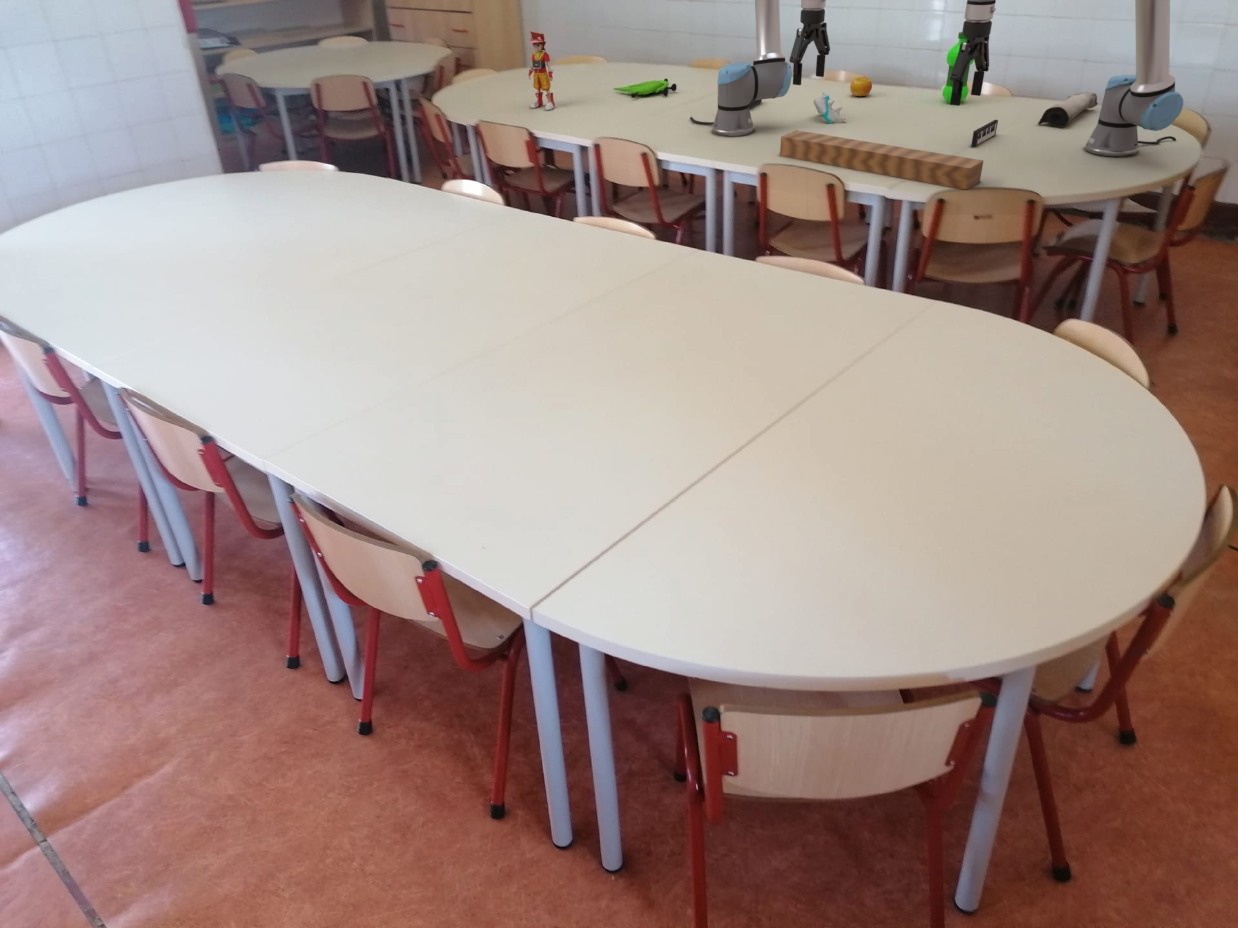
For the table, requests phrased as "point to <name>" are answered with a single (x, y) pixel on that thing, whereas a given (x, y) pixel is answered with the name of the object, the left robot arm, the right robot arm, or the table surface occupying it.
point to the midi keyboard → (984, 132)
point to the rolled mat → (1068, 109)
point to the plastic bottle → (951, 61)
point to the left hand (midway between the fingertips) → (808, 80)
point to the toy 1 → (541, 71)
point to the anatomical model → (828, 109)
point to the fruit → (861, 86)
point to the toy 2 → (648, 88)
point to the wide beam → (883, 159)
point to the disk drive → (754, 103)
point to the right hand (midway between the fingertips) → (965, 100)
